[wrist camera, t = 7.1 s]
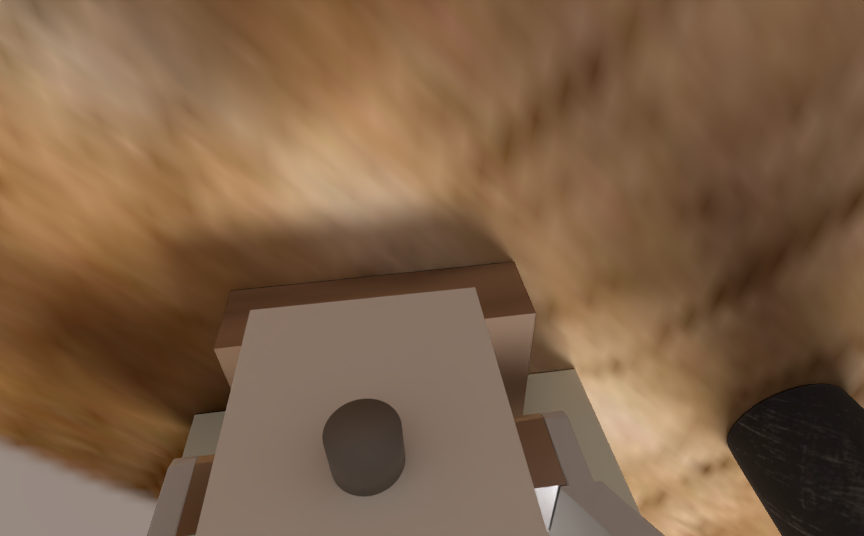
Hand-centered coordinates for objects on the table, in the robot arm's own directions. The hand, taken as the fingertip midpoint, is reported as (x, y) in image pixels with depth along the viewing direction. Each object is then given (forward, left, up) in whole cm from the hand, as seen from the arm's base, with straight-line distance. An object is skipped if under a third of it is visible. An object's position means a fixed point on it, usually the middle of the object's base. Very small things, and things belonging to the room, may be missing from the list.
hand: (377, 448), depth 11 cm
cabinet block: (0, 0, -2) cm, 2 cm away
